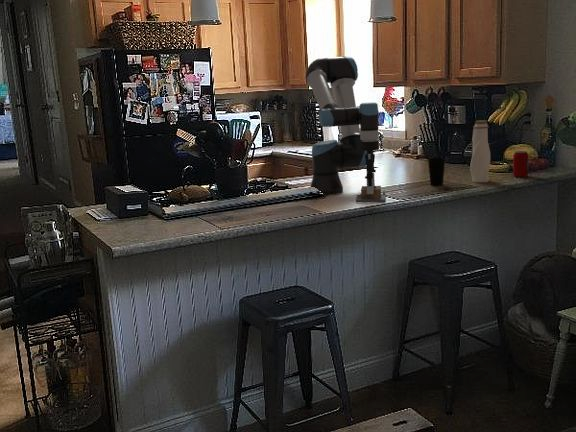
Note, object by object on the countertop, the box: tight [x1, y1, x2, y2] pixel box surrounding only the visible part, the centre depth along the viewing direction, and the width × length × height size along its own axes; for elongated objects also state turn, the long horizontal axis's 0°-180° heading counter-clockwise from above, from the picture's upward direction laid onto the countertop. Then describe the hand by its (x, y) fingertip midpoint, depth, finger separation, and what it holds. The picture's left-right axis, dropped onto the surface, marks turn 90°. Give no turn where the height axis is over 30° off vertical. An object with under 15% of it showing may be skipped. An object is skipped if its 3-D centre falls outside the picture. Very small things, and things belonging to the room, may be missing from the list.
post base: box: [355, 185, 387, 203], centre depth 269 cm, size 12×12×6 cm
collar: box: [360, 185, 382, 199], centre depth 269 cm, size 8×8×4 cm
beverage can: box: [512, 150, 529, 178], centre depth 303 cm, size 7×7×12 cm
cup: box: [427, 157, 446, 187], centre depth 294 cm, size 8×8×12 cm
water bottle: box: [469, 119, 491, 183], centre depth 296 cm, size 10×9×28 cm
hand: (370, 190), depth 269 cm, fingers open, 13 cm apart
